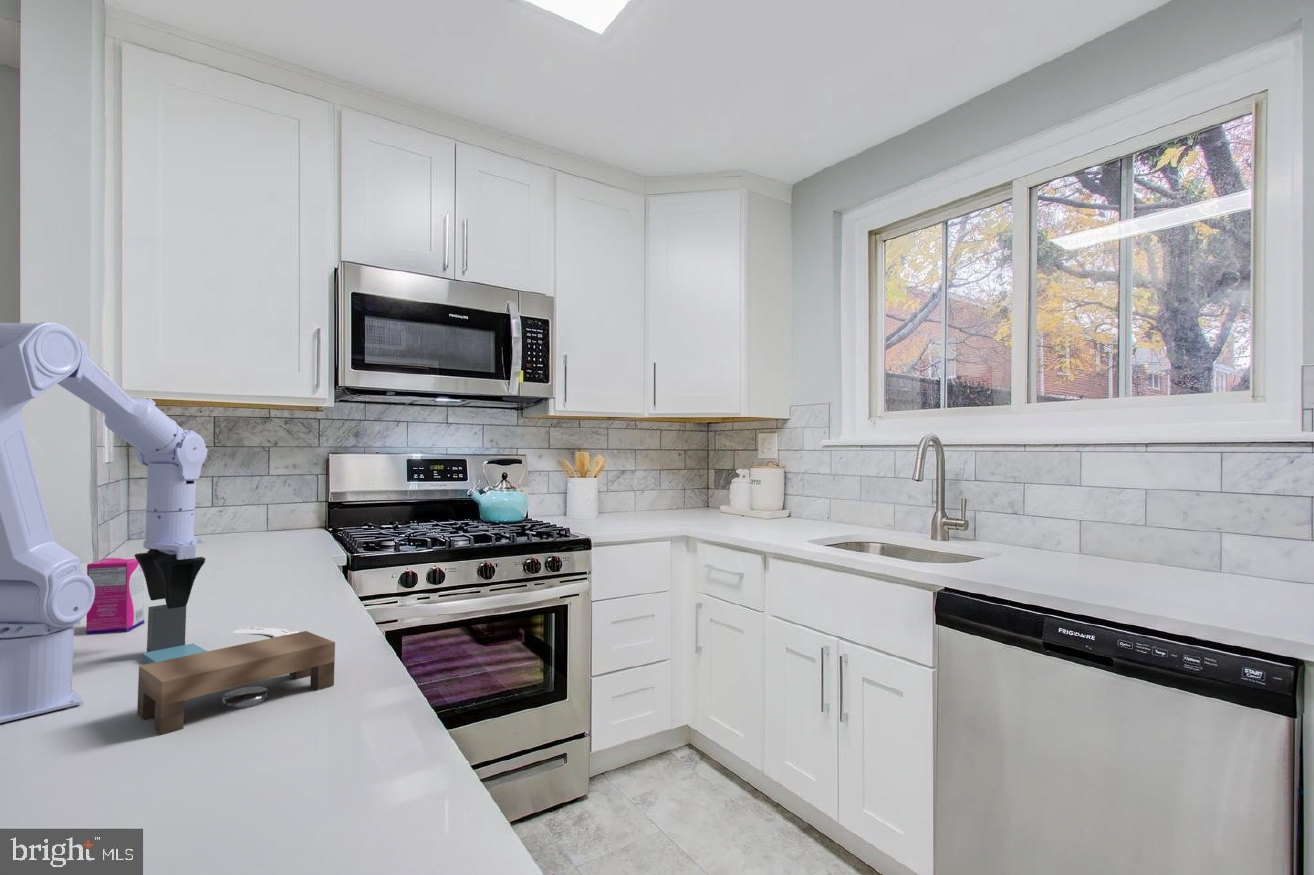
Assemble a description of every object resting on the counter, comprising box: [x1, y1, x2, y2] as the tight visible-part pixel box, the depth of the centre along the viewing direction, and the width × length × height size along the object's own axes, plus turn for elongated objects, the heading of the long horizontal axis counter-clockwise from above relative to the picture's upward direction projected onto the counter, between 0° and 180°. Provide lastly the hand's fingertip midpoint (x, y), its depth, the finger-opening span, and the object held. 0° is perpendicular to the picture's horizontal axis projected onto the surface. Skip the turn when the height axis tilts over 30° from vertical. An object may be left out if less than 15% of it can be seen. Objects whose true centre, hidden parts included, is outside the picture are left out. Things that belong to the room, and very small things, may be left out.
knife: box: [232, 626, 300, 638], centre depth 100 cm, size 30×2×8 cm
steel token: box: [221, 686, 269, 710], centre depth 74 cm, size 4×4×1 cm
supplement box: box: [85, 556, 145, 635], centre depth 103 cm, size 6×6×12 cm
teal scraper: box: [141, 604, 208, 664], centre depth 85 cm, size 6×23×7 cm, turn 53°
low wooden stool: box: [136, 630, 336, 735], centre depth 75 cm, size 18×8×6 cm, turn 143°
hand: (168, 603), depth 92 cm, fingers open, 7 cm apart
